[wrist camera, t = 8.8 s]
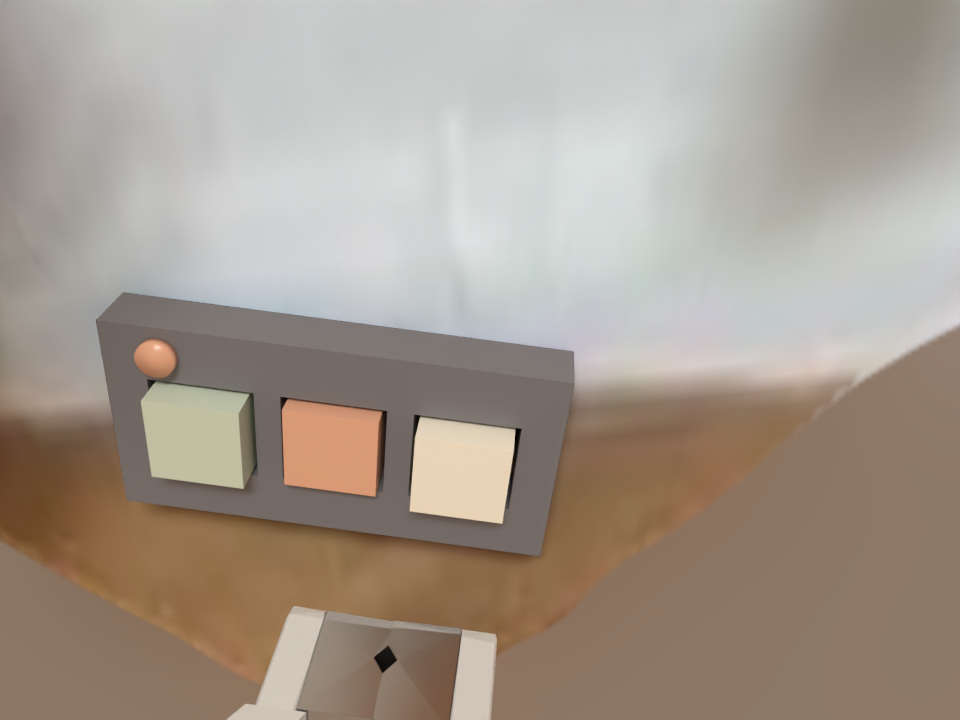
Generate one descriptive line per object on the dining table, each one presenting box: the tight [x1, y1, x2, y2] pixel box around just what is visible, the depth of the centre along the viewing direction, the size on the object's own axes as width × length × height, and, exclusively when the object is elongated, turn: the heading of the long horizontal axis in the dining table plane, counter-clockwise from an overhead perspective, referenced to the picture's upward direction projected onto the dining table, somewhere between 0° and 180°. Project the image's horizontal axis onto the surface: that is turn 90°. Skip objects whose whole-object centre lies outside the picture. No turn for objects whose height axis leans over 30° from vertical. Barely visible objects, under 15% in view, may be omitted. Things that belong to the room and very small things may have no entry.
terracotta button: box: [282, 398, 387, 497], centre depth 44 cm, size 5×5×3 cm
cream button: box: [410, 416, 516, 524], centre depth 44 cm, size 5×5×3 cm
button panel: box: [96, 293, 574, 556], centre depth 45 cm, size 24×12×4 cm, turn 84°
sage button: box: [141, 380, 257, 489], centre depth 44 cm, size 5×5×3 cm
